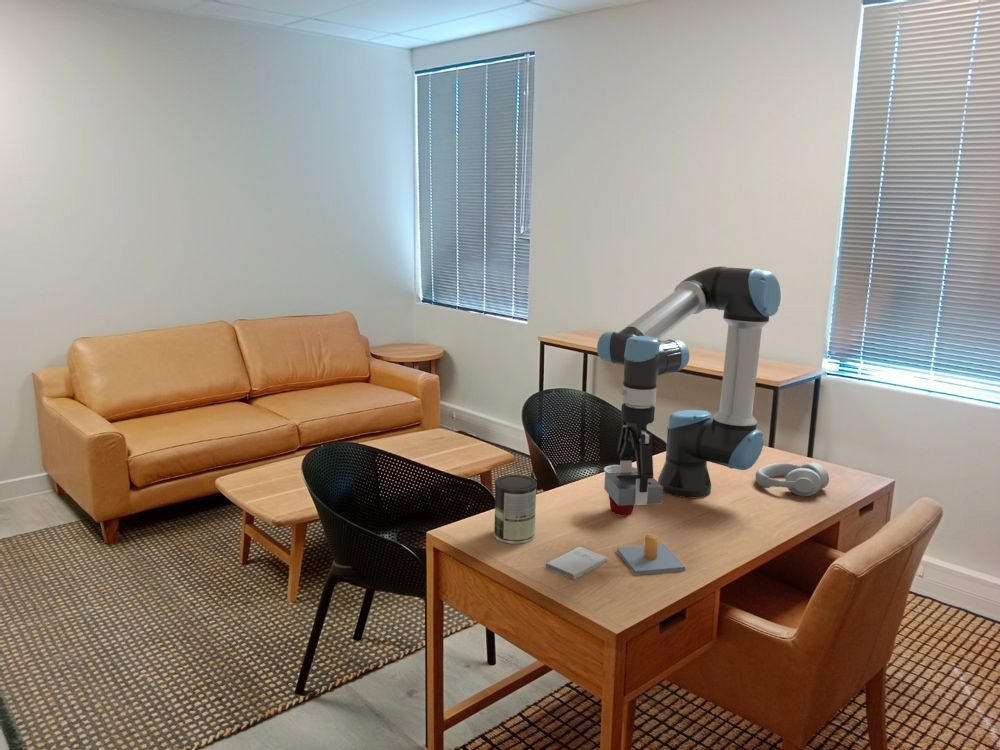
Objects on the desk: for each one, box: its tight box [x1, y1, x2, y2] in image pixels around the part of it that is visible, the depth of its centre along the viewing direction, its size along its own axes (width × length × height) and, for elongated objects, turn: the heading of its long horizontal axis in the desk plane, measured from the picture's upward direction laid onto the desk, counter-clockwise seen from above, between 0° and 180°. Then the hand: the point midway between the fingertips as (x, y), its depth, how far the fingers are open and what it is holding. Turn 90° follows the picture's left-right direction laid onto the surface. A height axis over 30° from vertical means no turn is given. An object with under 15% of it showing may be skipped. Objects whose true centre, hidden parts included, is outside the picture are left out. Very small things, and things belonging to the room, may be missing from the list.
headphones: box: [755, 462, 830, 497], centre depth 230 cm, size 18×8×20 cm
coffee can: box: [493, 474, 538, 545], centre depth 192 cm, size 10×10×14 cm
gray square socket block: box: [603, 472, 664, 506], centre depth 183 cm, size 10×10×4 cm
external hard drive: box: [545, 546, 608, 580], centre depth 179 cm, size 2×8×12 cm
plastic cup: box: [603, 464, 638, 517], centre depth 209 cm, size 11×11×12 cm
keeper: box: [616, 534, 686, 576], centre depth 181 cm, size 12×12×6 cm
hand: (632, 495), depth 183 cm, fingers closed on gray square socket block, 10 cm apart
